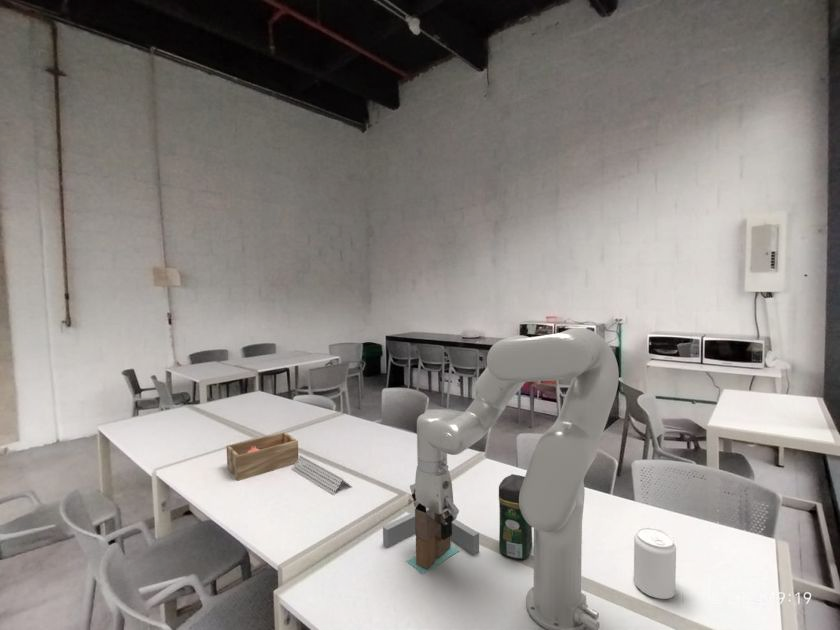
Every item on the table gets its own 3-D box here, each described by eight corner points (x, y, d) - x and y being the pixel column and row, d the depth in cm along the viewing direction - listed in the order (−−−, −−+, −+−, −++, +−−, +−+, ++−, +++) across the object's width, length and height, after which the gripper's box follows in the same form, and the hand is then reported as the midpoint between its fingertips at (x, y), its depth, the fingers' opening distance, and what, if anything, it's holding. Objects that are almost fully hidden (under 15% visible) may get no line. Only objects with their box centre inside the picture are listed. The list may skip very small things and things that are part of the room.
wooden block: (415, 564, 99) (414, 494, 98) (439, 542, 108) (438, 477, 107) (427, 570, 97) (426, 498, 96) (451, 547, 105) (450, 480, 104)
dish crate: (298, 462, 160) (297, 440, 160) (238, 480, 146) (237, 456, 145) (285, 452, 171) (284, 431, 171) (227, 468, 156) (226, 445, 156)
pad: (460, 550, 104) (459, 550, 104) (422, 574, 96) (422, 573, 96) (444, 540, 109) (444, 539, 109) (406, 561, 100) (406, 560, 100)
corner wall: (479, 551, 104) (478, 533, 104) (430, 583, 93) (429, 562, 93) (430, 520, 118) (430, 504, 118) (383, 544, 107) (382, 526, 107)
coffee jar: (505, 534, 111) (505, 469, 110) (534, 542, 107) (534, 475, 106) (495, 555, 102) (494, 484, 101) (526, 564, 99) (526, 491, 98)
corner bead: (353, 488, 140) (353, 474, 140) (331, 497, 134) (331, 483, 133) (310, 464, 160) (310, 452, 160) (289, 471, 154) (289, 458, 154)
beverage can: (660, 574, 95) (661, 525, 94) (683, 600, 86) (685, 547, 86) (626, 575, 94) (627, 526, 94) (647, 602, 86) (648, 548, 85)
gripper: (467, 470, 97) (468, 538, 98) (421, 449, 110) (422, 509, 111) (445, 479, 92) (446, 551, 93) (399, 456, 105) (401, 519, 106)
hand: (433, 528), depth 102 cm, fingers open, 9 cm apart
